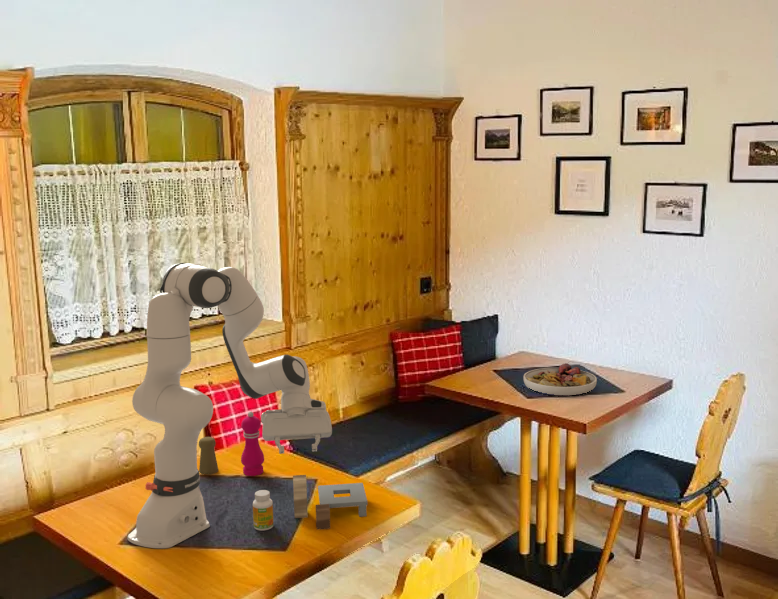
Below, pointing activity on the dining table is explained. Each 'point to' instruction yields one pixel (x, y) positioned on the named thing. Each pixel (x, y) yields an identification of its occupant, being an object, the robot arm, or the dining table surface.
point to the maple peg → (300, 496)
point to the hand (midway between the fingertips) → (298, 451)
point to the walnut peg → (323, 516)
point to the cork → (207, 456)
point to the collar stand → (354, 499)
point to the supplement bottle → (262, 511)
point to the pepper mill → (252, 446)
